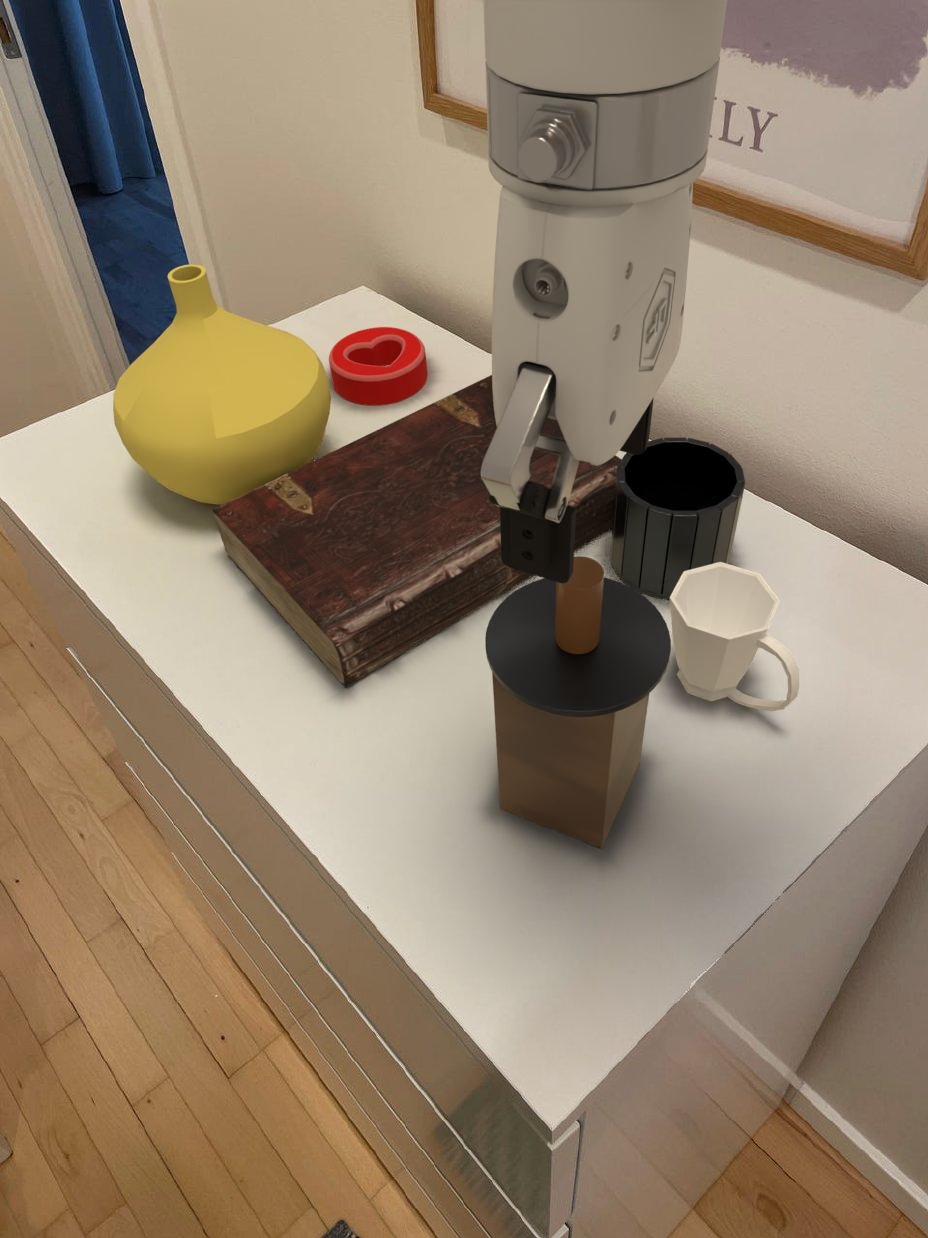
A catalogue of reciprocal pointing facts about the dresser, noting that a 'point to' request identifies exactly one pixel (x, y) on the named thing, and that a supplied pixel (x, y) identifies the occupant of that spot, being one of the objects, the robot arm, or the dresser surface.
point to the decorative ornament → (378, 366)
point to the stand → (566, 764)
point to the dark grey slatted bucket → (673, 512)
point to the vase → (220, 399)
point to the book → (394, 532)
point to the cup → (725, 633)
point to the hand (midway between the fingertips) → (578, 504)
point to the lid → (578, 644)
